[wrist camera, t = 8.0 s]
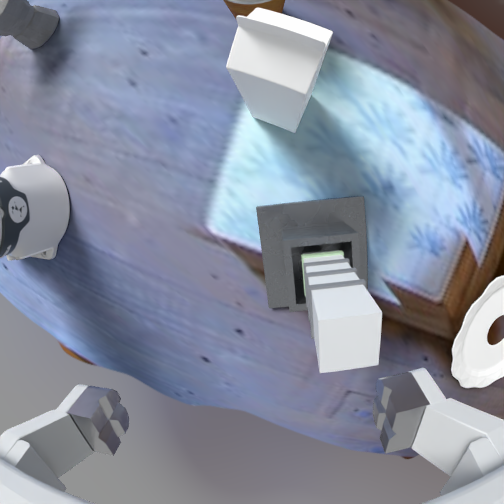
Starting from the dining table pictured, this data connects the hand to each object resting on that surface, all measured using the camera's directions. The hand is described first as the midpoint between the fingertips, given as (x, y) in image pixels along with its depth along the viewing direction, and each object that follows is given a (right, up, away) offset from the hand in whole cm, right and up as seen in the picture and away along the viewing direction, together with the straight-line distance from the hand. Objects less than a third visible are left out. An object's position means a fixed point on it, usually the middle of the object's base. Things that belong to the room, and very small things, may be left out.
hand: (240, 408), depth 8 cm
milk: (+4, +24, +27) cm, 36 cm away
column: (+8, +3, +25) cm, 26 cm away
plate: (+47, -10, +32) cm, 58 cm away
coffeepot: (-40, +49, +26) cm, 69 cm away
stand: (+9, +4, +32) cm, 33 cm away
